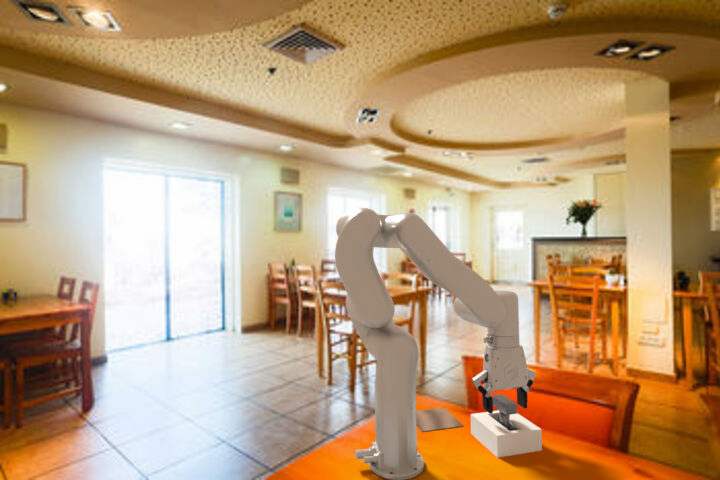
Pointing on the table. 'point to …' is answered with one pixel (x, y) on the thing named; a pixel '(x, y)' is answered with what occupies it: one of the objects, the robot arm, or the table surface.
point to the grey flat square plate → (436, 420)
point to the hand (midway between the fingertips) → (505, 408)
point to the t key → (504, 409)
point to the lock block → (506, 434)
